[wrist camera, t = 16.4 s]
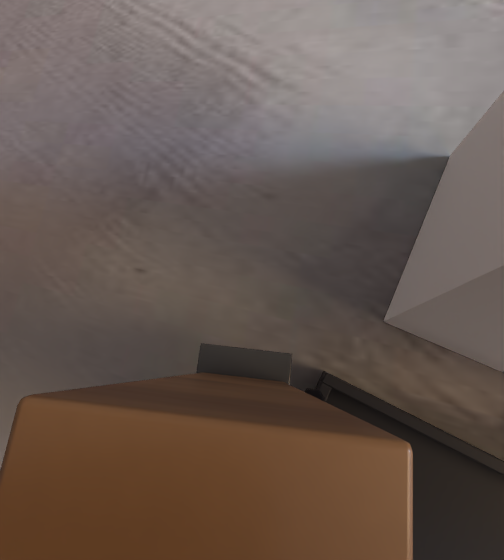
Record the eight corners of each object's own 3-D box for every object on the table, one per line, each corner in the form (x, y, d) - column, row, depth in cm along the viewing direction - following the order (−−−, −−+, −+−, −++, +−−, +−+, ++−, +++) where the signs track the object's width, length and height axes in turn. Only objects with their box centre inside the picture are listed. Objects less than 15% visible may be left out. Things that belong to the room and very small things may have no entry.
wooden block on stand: (274, 484, 16) (455, 1405, 2) (191, 474, 17) (-255, 1275, 2) (285, 355, 18) (437, 310, 3) (208, 347, 18) (29, 264, 3)
